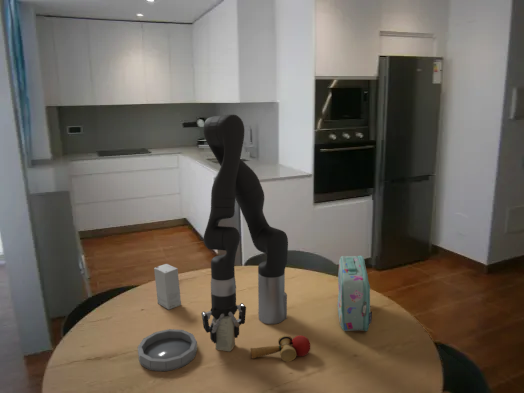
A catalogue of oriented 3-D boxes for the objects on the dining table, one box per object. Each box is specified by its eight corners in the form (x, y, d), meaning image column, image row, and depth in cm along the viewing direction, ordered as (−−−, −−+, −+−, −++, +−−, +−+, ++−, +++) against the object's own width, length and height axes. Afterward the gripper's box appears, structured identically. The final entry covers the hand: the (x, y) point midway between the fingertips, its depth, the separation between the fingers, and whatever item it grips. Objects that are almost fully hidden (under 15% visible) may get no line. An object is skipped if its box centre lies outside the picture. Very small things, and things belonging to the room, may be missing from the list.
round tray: (188, 333, 137) (188, 324, 137) (203, 361, 122) (202, 352, 121) (135, 345, 130) (134, 336, 130) (143, 377, 115) (142, 367, 114)
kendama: (254, 371, 120) (314, 359, 121) (250, 350, 120) (311, 338, 121) (252, 359, 128) (309, 348, 129) (249, 339, 127) (306, 328, 129)
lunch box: (372, 340, 133) (376, 278, 128) (339, 338, 134) (342, 276, 129) (362, 301, 159) (365, 248, 154) (335, 300, 160) (337, 247, 155)
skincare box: (181, 305, 157) (179, 268, 153) (167, 310, 153) (165, 273, 149) (169, 298, 163) (167, 262, 159) (155, 303, 158) (153, 266, 155)
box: (235, 344, 131) (234, 312, 128) (230, 352, 127) (229, 319, 124) (220, 341, 132) (219, 310, 130) (214, 349, 128) (213, 316, 126)
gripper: (240, 280, 132) (241, 328, 135) (196, 289, 126) (199, 338, 129) (250, 290, 125) (250, 339, 129) (204, 299, 119) (206, 351, 123)
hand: (224, 339), depth 129 cm, fingers closed on box, 6 cm apart
